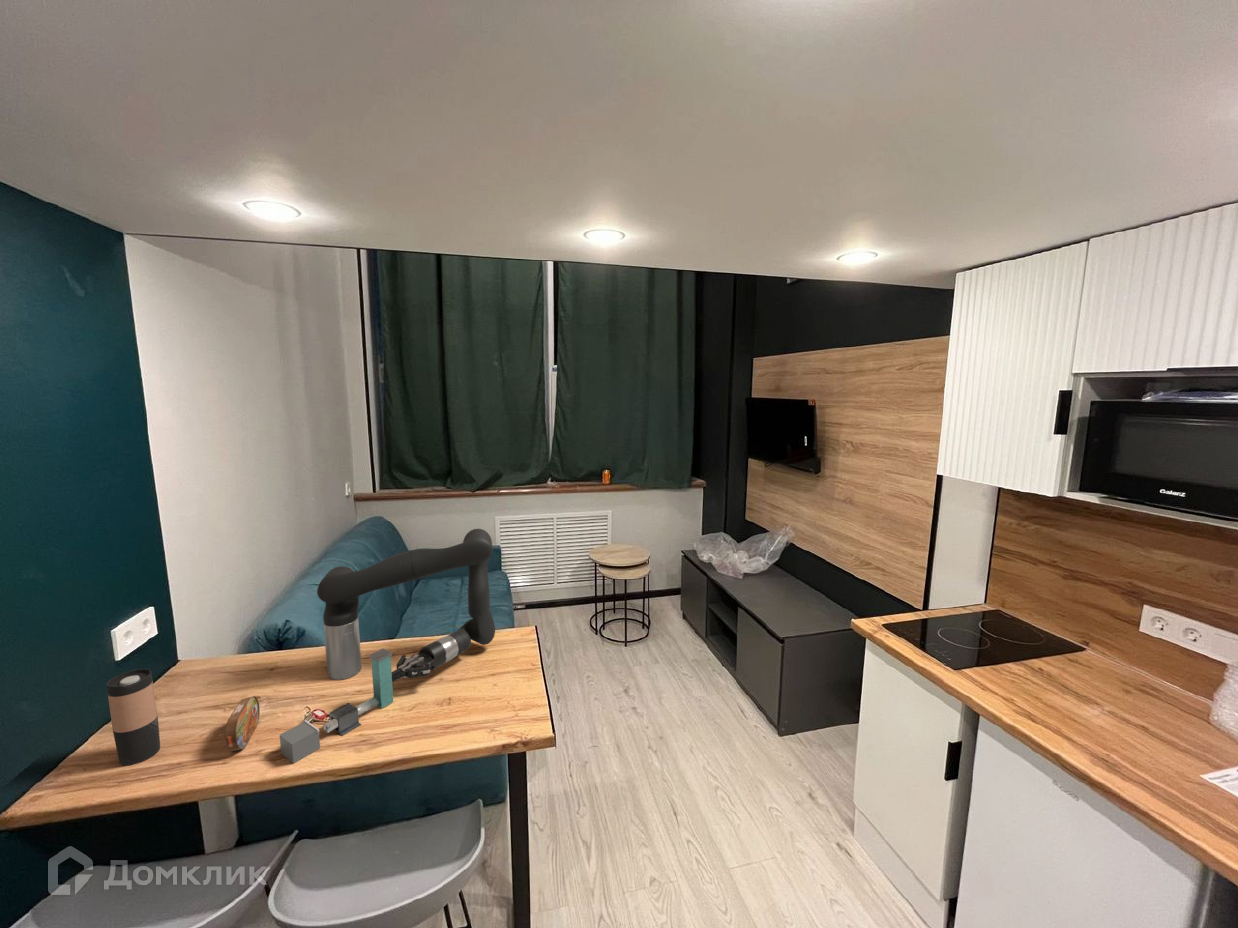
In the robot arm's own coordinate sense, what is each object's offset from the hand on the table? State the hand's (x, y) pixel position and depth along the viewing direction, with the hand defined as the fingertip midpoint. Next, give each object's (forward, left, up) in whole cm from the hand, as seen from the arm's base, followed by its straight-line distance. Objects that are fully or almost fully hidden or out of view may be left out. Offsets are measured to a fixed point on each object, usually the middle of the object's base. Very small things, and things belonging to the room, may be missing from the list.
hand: (388, 679), depth 138 cm
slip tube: (0, -9, -6) cm, 11 cm away
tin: (-17, -29, -7) cm, 34 cm away
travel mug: (-31, -45, -7) cm, 55 cm away
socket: (0, -24, -7) cm, 24 cm away
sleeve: (0, -13, -7) cm, 14 cm away
